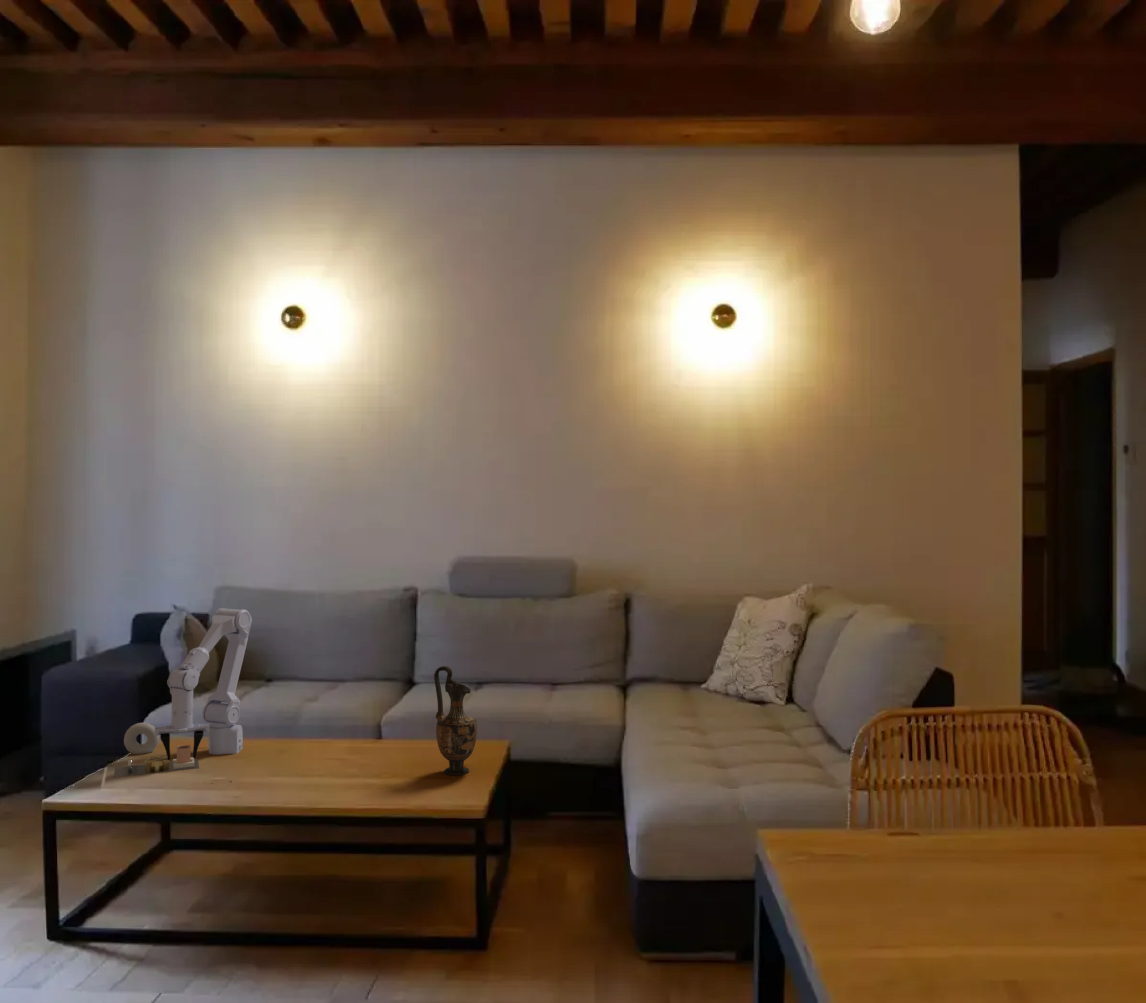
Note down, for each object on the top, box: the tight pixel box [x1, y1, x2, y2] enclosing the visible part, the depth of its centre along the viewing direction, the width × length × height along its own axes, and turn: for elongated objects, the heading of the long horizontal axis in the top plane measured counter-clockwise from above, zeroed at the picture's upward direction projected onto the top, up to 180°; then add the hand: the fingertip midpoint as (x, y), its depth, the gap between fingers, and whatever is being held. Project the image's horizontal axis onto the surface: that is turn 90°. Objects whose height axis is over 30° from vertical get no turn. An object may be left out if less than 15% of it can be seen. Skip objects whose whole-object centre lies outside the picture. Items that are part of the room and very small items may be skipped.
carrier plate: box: [113, 755, 200, 779], centre depth 270 cm, size 22×10×4 cm, turn 114°
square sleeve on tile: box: [172, 744, 195, 769], centre depth 273 cm, size 6×6×5 cm
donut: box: [123, 722, 160, 755], centre depth 286 cm, size 10×4×10 cm, turn 102°
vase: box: [433, 665, 478, 776], centre depth 271 cm, size 12×12×30 cm
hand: (181, 758), depth 273 cm, fingers open, 6 cm apart
